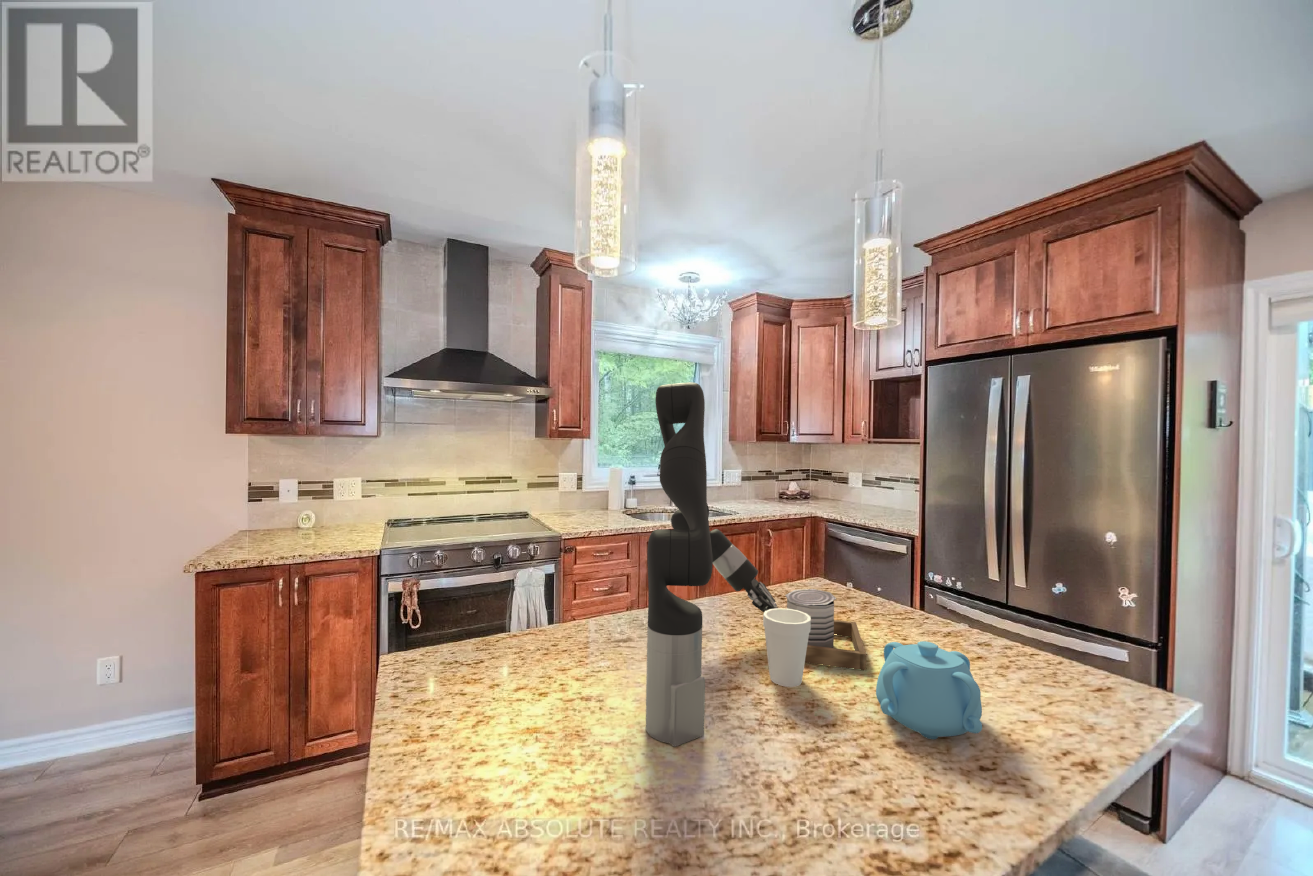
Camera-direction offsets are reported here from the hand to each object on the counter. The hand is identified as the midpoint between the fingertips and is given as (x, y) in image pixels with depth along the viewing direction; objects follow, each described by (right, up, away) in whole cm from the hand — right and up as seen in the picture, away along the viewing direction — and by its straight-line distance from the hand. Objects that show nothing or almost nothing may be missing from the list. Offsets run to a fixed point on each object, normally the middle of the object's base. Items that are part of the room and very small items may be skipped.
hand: (784, 622), depth 124 cm
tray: (+7, -5, -2) cm, 9 cm away
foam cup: (-5, -5, -20) cm, 21 cm away
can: (+6, -5, -1) cm, 8 cm away
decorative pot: (+16, -5, -35) cm, 38 cm away
